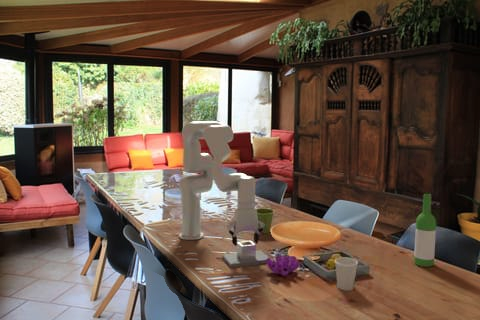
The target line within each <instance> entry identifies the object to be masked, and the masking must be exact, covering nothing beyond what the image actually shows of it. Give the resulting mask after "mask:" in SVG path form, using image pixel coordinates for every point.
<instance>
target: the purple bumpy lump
mask: <svg viewBox="0 0 480 320" xmlns="http://www.w3.org/2000/svg"><path fill="white" fill-rule="evenodd" d="M265 262H266V263H265V264H266V265H267V267H268V269H269V270H270V271H271V272H273V273H274V274H276V275H282V276H284V277H285V276H287V275H288V274H290V273H292V272H294V271H296V270H297V269H298V268H300V266H301V264H302V263H301V261H299V260H297V257H296V256H295V255H290V257H289V256H286V255H284V256H282V254H277V255H275V260H272V259H271V257H269V258H267V259H266V260H265Z"/></svg>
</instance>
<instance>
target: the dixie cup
mask: <svg viewBox="0 0 480 320" xmlns="http://www.w3.org/2000/svg"><path fill="white" fill-rule="evenodd" d="M357 264H358V261H357V260H355V259H352V258H348V257H340V258H336V259H335V266H336V267H335V269H336V276H337V279H336V283H337V284H336V285H337V288H338V289H340V290H342V291H351V290H353V289H354V286H355V280H356V279H355V278H356V276H355V274H356V268H357Z"/></svg>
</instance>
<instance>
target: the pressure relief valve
mask: <svg viewBox="0 0 480 320" xmlns="http://www.w3.org/2000/svg"><path fill="white" fill-rule="evenodd" d="M340 257H341V256H340V255H339V254H334V255H332V256H331V259H330V260H328V261H325V262H326V263H325V265H326V268H327V269H328V270H335V268H336V266H335V259H336V258H340Z"/></svg>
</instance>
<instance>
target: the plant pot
mask: <svg viewBox="0 0 480 320" xmlns="http://www.w3.org/2000/svg"><path fill="white" fill-rule="evenodd" d="M256 209H257V216H258V221H260V222H263V223H264V224H265V226H264V228H263V230H262V231H261V232H260V234H264V233H265V234H268V233H270V232H271V227H272V221H273V217H274V213H276V212H275V210H274V209H272V208H264V207H262V208H256ZM259 227H260V224H258V228H259ZM257 230H258V229H257Z"/></svg>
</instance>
